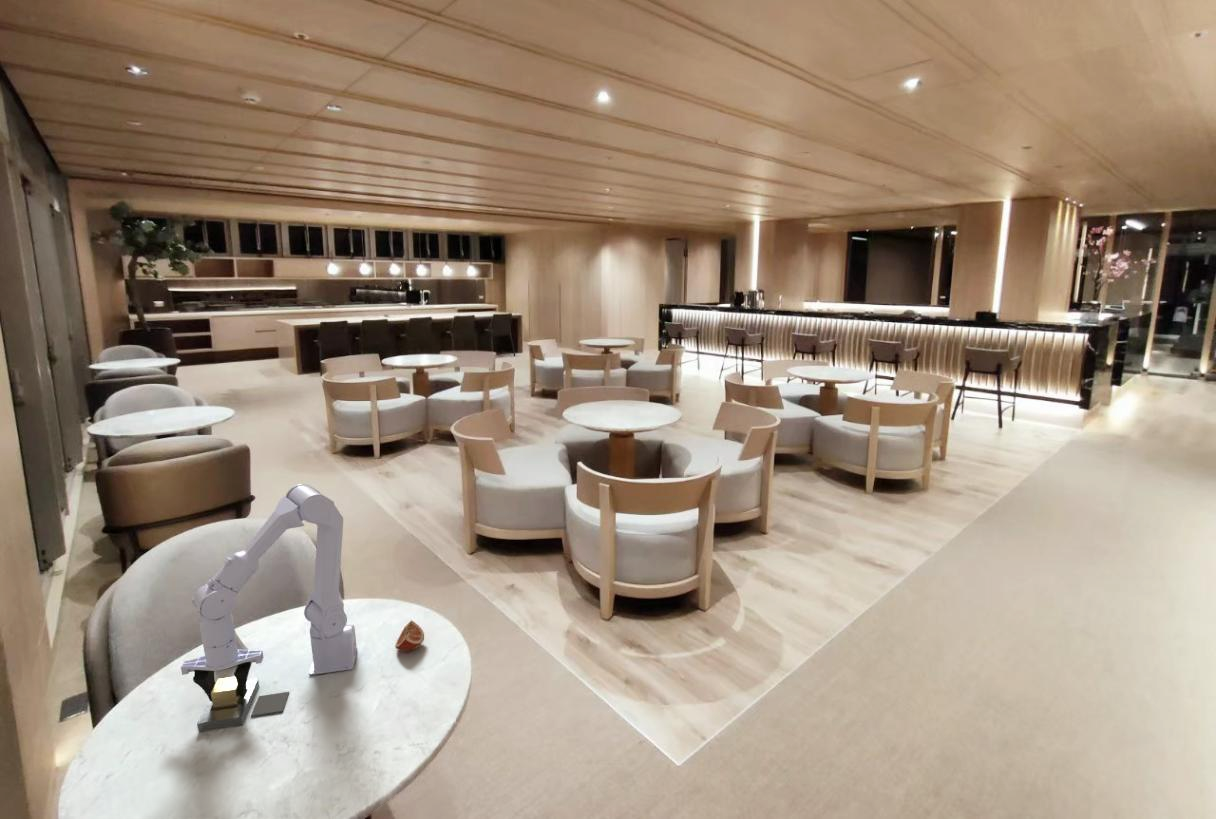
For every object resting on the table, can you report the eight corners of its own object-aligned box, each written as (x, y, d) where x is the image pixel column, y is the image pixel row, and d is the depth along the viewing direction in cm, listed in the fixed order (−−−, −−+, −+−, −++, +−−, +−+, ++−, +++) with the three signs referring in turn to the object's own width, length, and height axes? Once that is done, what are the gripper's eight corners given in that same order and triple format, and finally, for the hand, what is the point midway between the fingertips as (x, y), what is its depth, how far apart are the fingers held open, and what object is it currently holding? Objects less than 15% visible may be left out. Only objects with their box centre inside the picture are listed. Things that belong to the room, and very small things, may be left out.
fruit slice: (400, 637, 155) (398, 620, 154) (427, 636, 156) (426, 618, 154) (392, 658, 147) (391, 640, 145) (421, 656, 147) (420, 638, 146)
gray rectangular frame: (259, 686, 137) (258, 678, 136) (242, 725, 125) (241, 716, 125) (218, 691, 135) (217, 684, 134) (198, 732, 123) (197, 723, 123)
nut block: (245, 699, 133) (241, 675, 131) (239, 713, 128) (235, 689, 127) (222, 702, 131) (218, 678, 130) (214, 717, 127) (210, 693, 126)
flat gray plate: (289, 693, 135) (289, 691, 134) (282, 712, 129) (282, 710, 129) (259, 697, 133) (258, 696, 133) (251, 717, 127) (250, 715, 127)
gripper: (263, 623, 132) (271, 677, 135) (186, 633, 128) (195, 689, 131) (254, 642, 125) (263, 699, 128) (173, 654, 121) (183, 712, 124)
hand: (228, 695), depth 129 cm, fingers open, 5 cm apart
